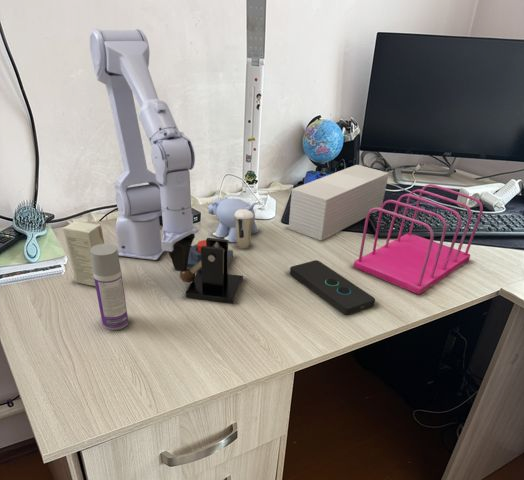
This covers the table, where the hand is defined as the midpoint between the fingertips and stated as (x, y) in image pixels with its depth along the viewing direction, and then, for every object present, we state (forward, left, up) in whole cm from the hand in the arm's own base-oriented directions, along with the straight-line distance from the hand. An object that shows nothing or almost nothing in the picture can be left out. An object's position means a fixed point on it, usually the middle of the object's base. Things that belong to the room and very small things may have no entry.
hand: (180, 269), depth 101 cm
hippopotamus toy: (+4, +30, -4) cm, 31 cm away
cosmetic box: (-19, -3, -4) cm, 19 cm away
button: (+2, +11, -1) cm, 11 cm away
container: (-8, -17, -4) cm, 19 cm away
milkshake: (+9, +22, -4) cm, 24 cm away
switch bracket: (+7, 0, -4) cm, 8 cm away
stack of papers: (+31, +47, -4) cm, 57 cm away
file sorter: (+50, +23, -4) cm, 55 cm away
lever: (+5, 0, +1) cm, 5 cm away
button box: (+2, +11, -4) cm, 12 cm away
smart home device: (+31, +6, -4) cm, 32 cm away
